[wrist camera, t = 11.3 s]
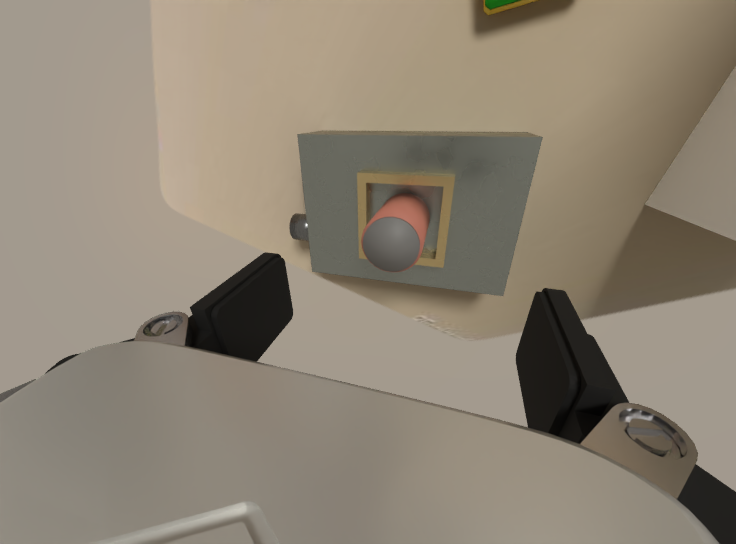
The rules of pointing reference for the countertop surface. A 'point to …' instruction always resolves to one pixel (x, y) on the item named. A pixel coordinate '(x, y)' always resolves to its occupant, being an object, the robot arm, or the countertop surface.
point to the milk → (705, 170)
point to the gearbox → (431, 184)
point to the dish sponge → (502, 5)
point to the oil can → (396, 233)
